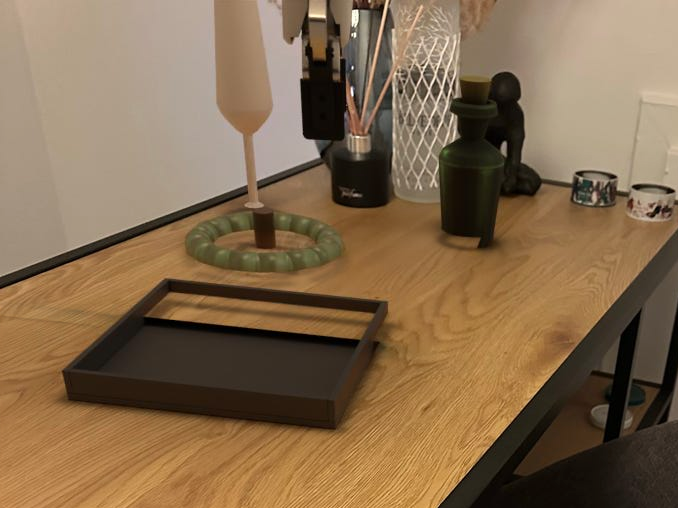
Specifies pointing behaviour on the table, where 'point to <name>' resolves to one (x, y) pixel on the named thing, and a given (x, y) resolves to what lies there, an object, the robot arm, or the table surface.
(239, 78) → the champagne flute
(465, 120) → the potion bottle
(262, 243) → the post
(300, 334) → the tray
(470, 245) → the table surface
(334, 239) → the ring
